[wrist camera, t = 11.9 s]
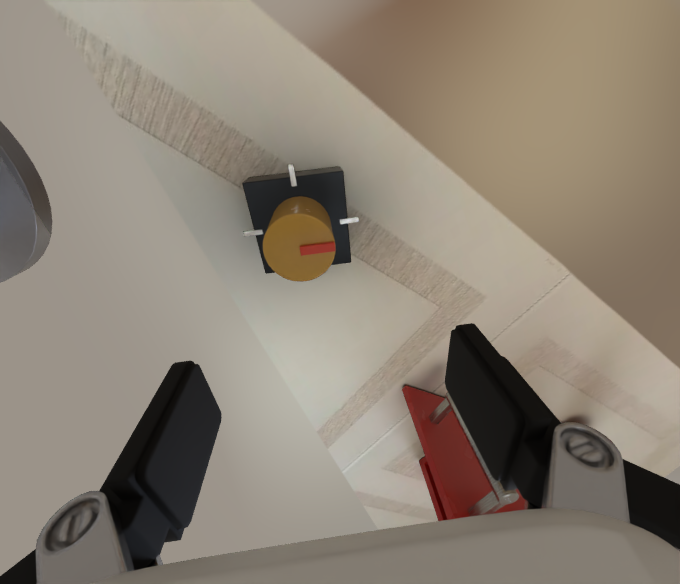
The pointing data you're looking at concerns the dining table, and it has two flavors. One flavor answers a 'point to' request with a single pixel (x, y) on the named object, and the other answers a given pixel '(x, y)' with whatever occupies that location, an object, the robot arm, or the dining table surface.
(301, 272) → the valve knob
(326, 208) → the plate
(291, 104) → the dining table surface
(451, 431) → the cabinet door
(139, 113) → the dining table surface
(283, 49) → the dining table surface
